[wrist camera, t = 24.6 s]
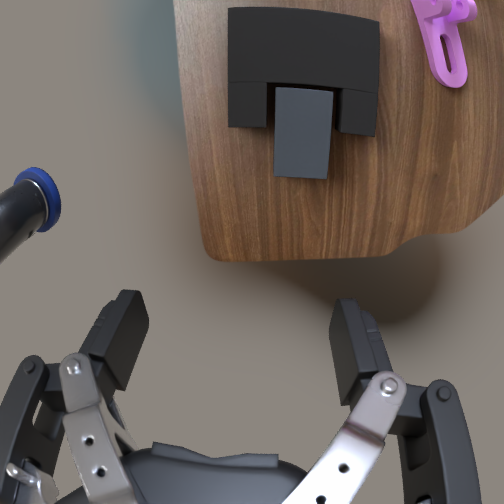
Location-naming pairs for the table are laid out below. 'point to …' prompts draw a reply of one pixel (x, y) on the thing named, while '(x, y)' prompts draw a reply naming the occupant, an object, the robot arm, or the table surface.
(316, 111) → the pad
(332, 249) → the table surface
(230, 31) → the base pad
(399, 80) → the table surface
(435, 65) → the bracket
